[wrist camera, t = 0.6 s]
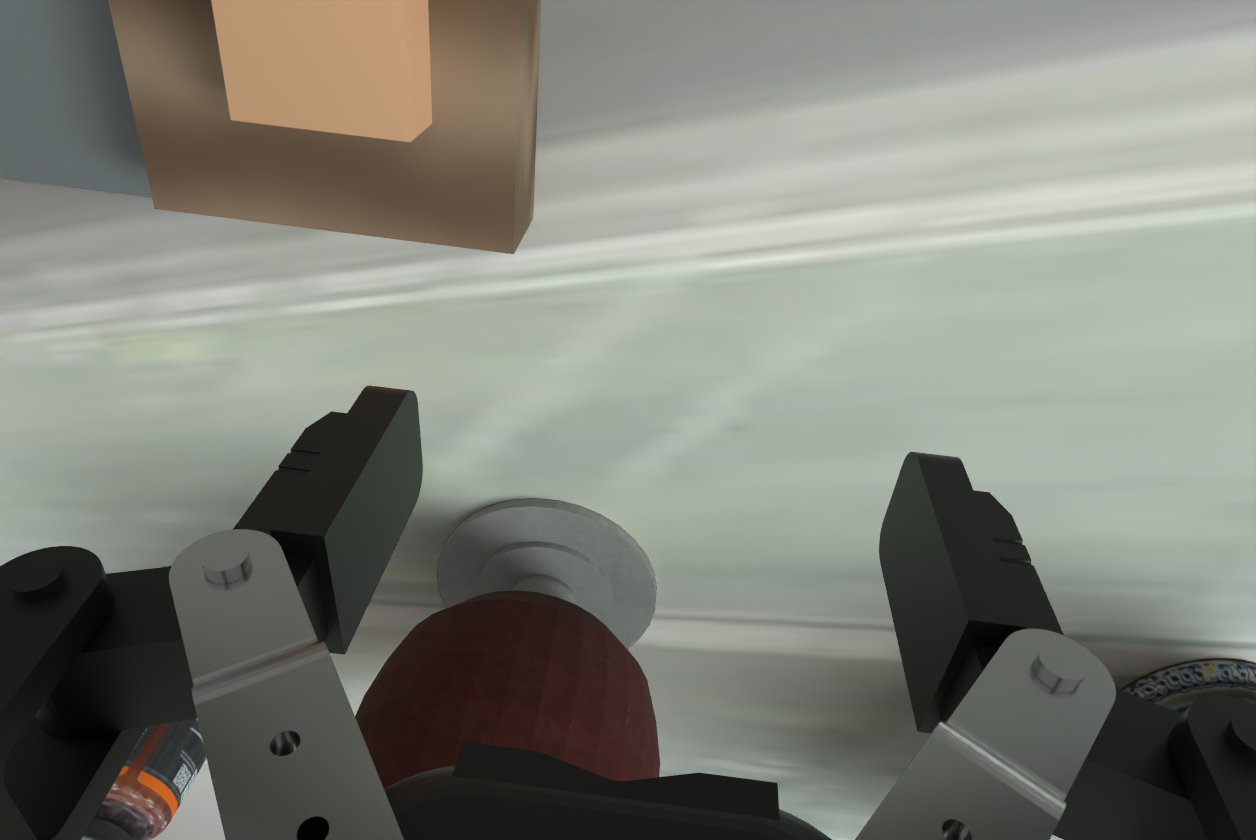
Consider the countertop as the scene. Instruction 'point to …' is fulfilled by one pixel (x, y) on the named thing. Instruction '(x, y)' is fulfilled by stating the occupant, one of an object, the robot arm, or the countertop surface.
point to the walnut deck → (339, 163)
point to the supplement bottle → (150, 783)
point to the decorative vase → (1197, 683)
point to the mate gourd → (524, 649)
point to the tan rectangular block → (328, 64)
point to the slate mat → (66, 99)
